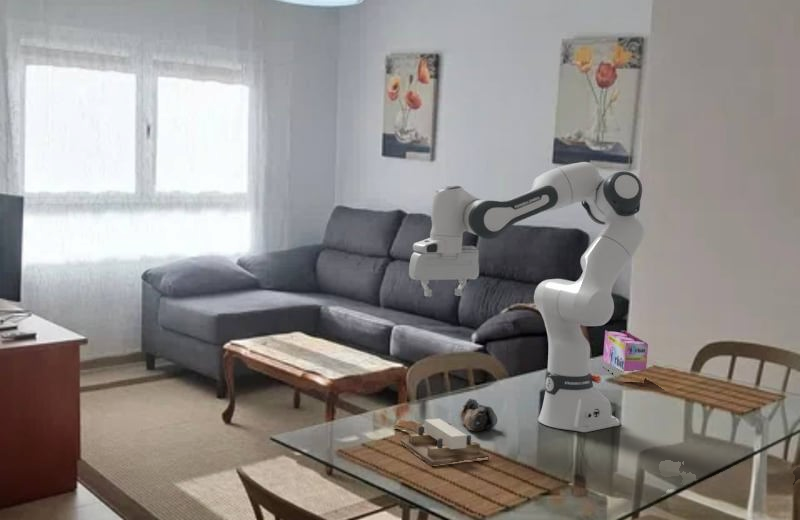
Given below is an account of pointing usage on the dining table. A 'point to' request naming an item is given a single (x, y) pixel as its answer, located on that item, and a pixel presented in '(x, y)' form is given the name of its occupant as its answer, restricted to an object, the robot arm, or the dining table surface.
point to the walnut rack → (441, 449)
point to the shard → (407, 425)
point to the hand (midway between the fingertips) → (443, 295)
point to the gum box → (625, 351)
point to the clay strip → (445, 433)
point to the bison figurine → (477, 416)
